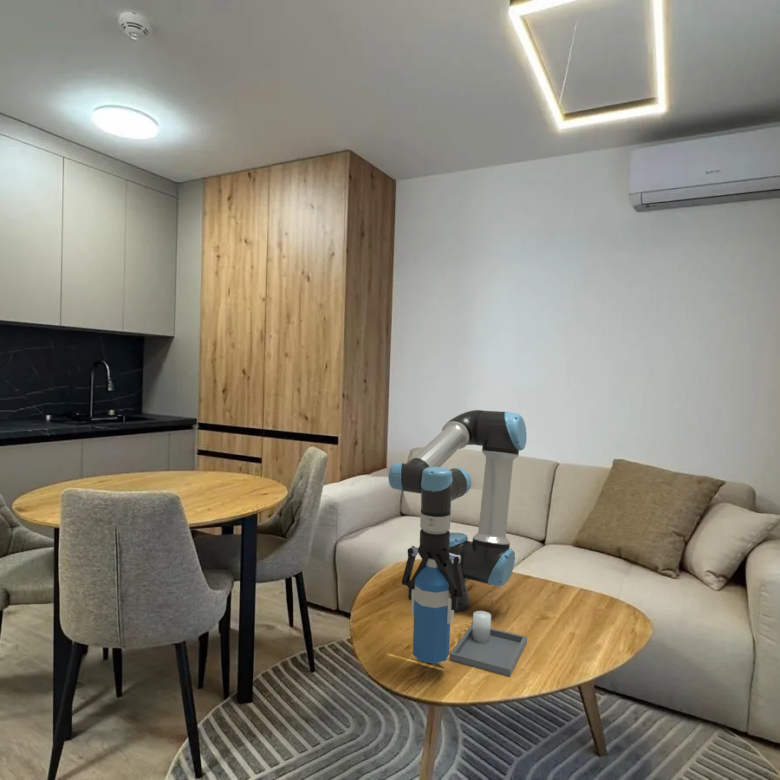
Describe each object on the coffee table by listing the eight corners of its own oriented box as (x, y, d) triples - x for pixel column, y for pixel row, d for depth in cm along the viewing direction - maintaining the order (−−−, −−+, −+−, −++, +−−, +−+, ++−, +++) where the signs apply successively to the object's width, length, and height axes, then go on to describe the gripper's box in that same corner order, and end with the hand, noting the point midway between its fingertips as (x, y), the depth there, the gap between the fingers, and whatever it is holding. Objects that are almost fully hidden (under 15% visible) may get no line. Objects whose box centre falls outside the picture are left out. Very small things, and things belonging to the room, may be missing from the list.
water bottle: (410, 644, 146) (413, 550, 144) (445, 644, 146) (448, 550, 145) (415, 664, 136) (418, 564, 135) (452, 663, 137) (456, 563, 136)
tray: (449, 662, 146) (449, 653, 146) (472, 631, 164) (472, 623, 164) (510, 679, 139) (510, 669, 139) (526, 645, 157) (527, 636, 157)
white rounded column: (469, 640, 157) (471, 616, 157) (475, 633, 162) (476, 609, 161) (487, 644, 155) (488, 620, 155) (492, 637, 159) (493, 613, 159)
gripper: (389, 526, 141) (387, 613, 142) (472, 541, 132) (469, 633, 133) (401, 519, 148) (399, 602, 149) (481, 532, 138) (478, 620, 140)
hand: (432, 617), depth 141 cm, fingers closed on water bottle, 9 cm apart
